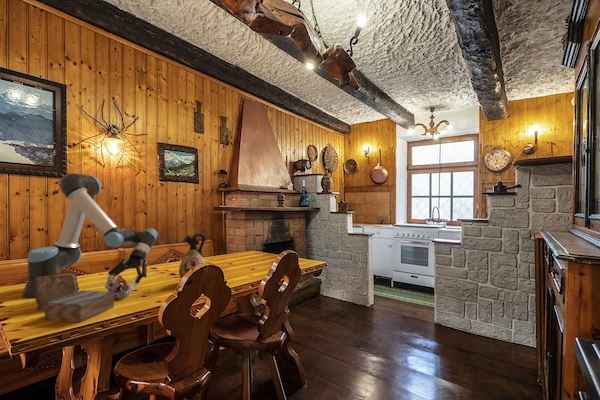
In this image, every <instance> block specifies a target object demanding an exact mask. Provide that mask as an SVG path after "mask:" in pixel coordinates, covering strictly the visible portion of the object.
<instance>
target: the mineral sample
mask: <svg viewBox="0 0 600 400" xmlns="http://www.w3.org/2000/svg"><path fill="white" fill-rule="evenodd" d="M35 284H36V297H35V301H36V309H37V310H38V311H45V302H48V301H51V300H54V299H58V298H61V297H64V296H67V295H70V294H73V293H76V292H79V290H80V287H79V283H78V277H77V272H75V271H68V272H61V273H57V274H53V275H47V276H40V277H35Z"/></svg>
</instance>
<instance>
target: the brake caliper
mask: <svg viewBox="0 0 600 400" xmlns="http://www.w3.org/2000/svg"><path fill="white" fill-rule="evenodd" d="M107 280H108V279H107ZM107 280H106V283H105V285H106V284H107V285H109V286H108V289H107V292H114V300H122V299H125V298H127V296H128V297H129V296H130V295H131V288H130V285H129V284H128V283H127V281H126V280H125V278H123V276H122V275H121V274H118V275H117V276H116V278H115V280H114V281H113V282H112V280H111V279H110V280H108V281H107Z"/></svg>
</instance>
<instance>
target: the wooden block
mask: <svg viewBox="0 0 600 400" xmlns="http://www.w3.org/2000/svg"><path fill="white" fill-rule="evenodd" d="M114 303H115V299H114V292H108V291H105V290H104V291H103V290H100V291H99V290H80V291H79V290H78V292H76V293H73V294H70V295H67V296H64V297H61V298H58V299H54V300H51V301H48V302H45V310H44V321H52V322H65V321H66V322H67V323H83V322H84V321H87V320H89V319H91V318H94V317H96V316H98V315H101V314H103V313H105V312H107V311H109V310H111V309H113V308H114V307H115V306H114Z"/></svg>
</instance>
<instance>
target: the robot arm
mask: <svg viewBox="0 0 600 400" xmlns="http://www.w3.org/2000/svg"><path fill="white" fill-rule="evenodd" d="M59 188H60V191H61V193H62V194H63V196H64V197H65V199H66V198H67V200H68V201H70V202H69V205H68V209H67V212H66V215H65V218H64V221H63V225H62V229H61V231H60V236H59V238H58V240H56V241H55V242H54V243H53V246H43V247H38V248H34V249H31V250H30V251H29V252H28V256H27V281H26V283H25V285H24V288H23V291H22V294H21V295H22V298H25V299H26V298H27V299H32V298H35V299H36V284H35V277H40V276H47V275H53V274H58V270H61V269H64V268H69V267H71V266H74V265H76V264H77V263H78V262H80V260H81V258H82V250H81V249H80V247H81V246H80V244H79V243H78V242H79V239H80V235H81V232H82V228H83V225H84V222H85V219H86V217H87V219H88V220H89V221H90V222H91V223H92V224H93V226H94V227H96V229H98V231H99V232H100V233H101V234H102V236H104V242H105V244H106V246H108V247H110V248H111V247H112V248H114V247H119V246H123V245H128V244H135V246H134V248H133V249H132V251H131V253H130V255H129V258H128V259H124V258H122V259H121V260H120V262H118V264H116V265H115V266H114V267H113V268H112V269H110V270H109V271H108V272H107V274H108V275H109V276H108V278H107V280H106V282H107V281H108V280H110V279H111V280H112V282H113V283H114V282H115V280H116V279H117V277H118V275H121V273H123V272H124V271H127V270H130V269H135V271H136V272H137V275H135V277H134V279H133V281H132V282H131V284H130V285H129V288H130V290H131V291H134V290H135V288H136V286H137V285H138V284H139V283H140V281H141V280H142V279H143V278H147V270H148V269H147V267H148V266H147V265H148V261H147V260H146V259H147V255H148V254H149V252H150V250H151V249H152V246H153V245H154V243H155V242H156V241H157V238H158V235H159V234H158V231H157V230H156V229H154V228H152V227H151V228H150V227H149V228H146V229H145V230H144V231H141V230H135V229H130V228H121V229H120V228H119V227H118V225H116V223H115V222H114V221H113V220H112V219H111V218H110V217H109V216H108V214H107V213H106V212H105V211H104V210H103V208H101V207H100V205H99V204H98V203H97V202H96V201H95V196H97V195H99V194H100V192H101V190H102V184H101V182H100V180H99V179H98V178H97V177H96V176H93V175H90V174H82V173H75V172H74V173H73V172H71V173H67V174H65V175H63V176H62V177H61V178H60V180H59ZM140 266H141V267H140ZM108 286H109V285H107V284H106V283H105V285H104V287H105V288H106V289H107V290H108Z"/></svg>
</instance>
